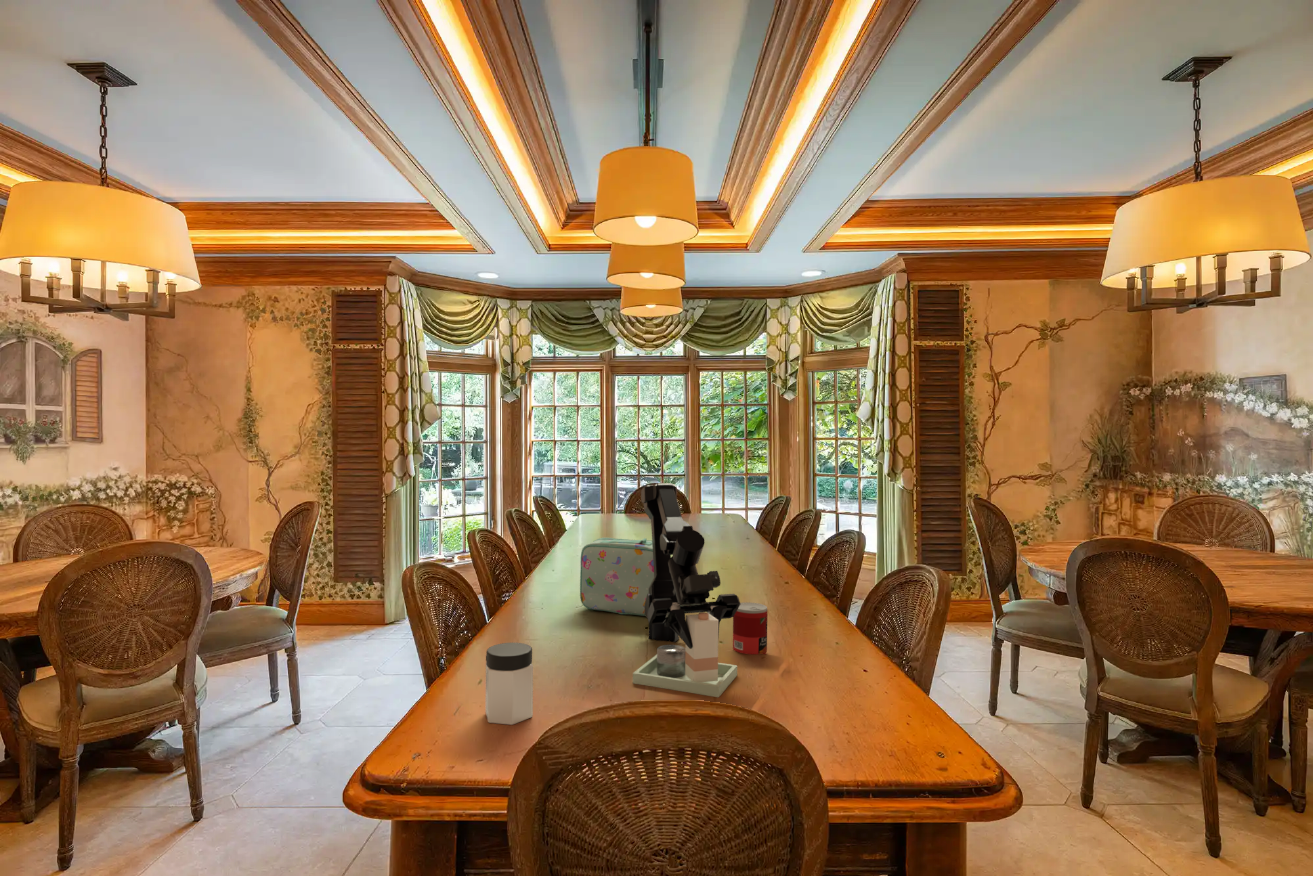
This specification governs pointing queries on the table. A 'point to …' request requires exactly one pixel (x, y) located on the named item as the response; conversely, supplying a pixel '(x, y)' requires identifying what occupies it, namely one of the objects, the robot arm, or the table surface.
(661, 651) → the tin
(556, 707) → the table surface
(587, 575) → the lunch box
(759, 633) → the canned food
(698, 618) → the oat carton
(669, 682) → the tray
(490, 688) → the jar
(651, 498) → the robot arm
